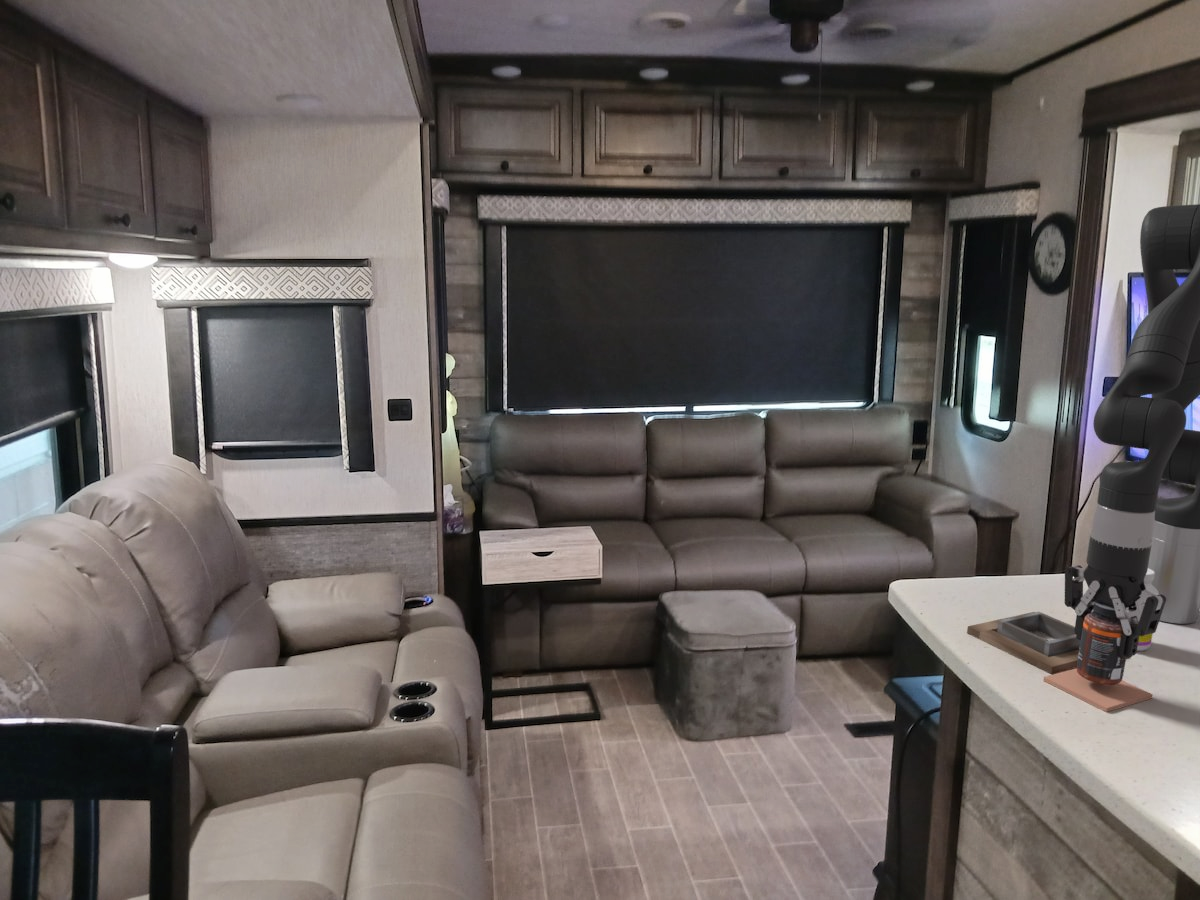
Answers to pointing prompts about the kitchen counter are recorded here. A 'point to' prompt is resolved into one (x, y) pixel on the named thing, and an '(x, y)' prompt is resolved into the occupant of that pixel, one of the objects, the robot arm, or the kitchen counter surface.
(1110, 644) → the supplement bottle
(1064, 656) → the wooden square tray
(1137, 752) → the kitchen counter surface
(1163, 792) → the kitchen counter surface
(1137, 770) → the kitchen counter surface
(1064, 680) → the mat
